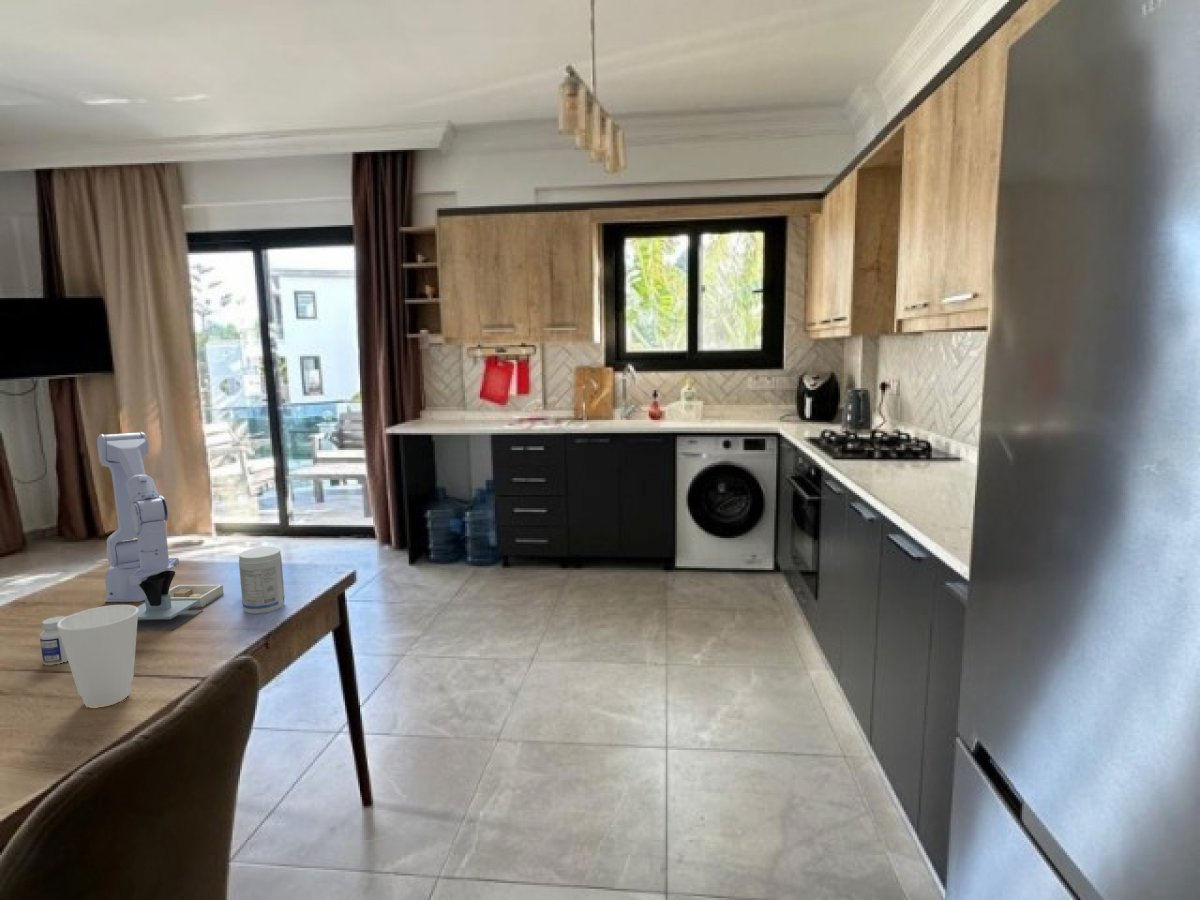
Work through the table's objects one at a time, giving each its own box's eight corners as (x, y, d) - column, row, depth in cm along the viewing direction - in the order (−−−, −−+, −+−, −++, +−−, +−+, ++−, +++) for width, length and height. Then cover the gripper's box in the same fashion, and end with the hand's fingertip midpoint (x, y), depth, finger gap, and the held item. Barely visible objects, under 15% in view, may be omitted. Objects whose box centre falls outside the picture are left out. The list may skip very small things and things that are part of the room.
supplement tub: (255, 600, 169) (251, 546, 167) (291, 601, 169) (288, 546, 167) (234, 615, 160) (230, 557, 158) (273, 615, 159) (268, 557, 157)
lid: (117, 619, 151) (115, 604, 150) (148, 603, 161) (146, 588, 161) (170, 619, 151) (169, 603, 150) (198, 602, 161) (196, 588, 161)
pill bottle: (67, 652, 139) (62, 613, 138) (81, 657, 137) (76, 617, 135) (37, 663, 134) (32, 622, 133) (51, 668, 132) (46, 626, 131)
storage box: (153, 608, 164) (152, 598, 164) (178, 594, 174) (177, 584, 174) (200, 608, 164) (200, 598, 164) (223, 594, 174) (222, 584, 174)
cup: (55, 722, 112) (45, 634, 110) (78, 690, 123) (69, 610, 121) (138, 707, 117) (129, 622, 114) (153, 678, 127) (145, 600, 125)
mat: (114, 630, 150) (114, 629, 150) (148, 611, 162) (148, 610, 162) (172, 630, 150) (172, 628, 150) (202, 611, 162) (202, 610, 162)
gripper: (149, 557, 147) (154, 615, 148) (189, 540, 161) (193, 593, 163) (118, 557, 147) (124, 615, 148) (160, 540, 161) (165, 593, 163)
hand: (158, 603), depth 156 cm, fingers closed on lid, 2 cm apart
